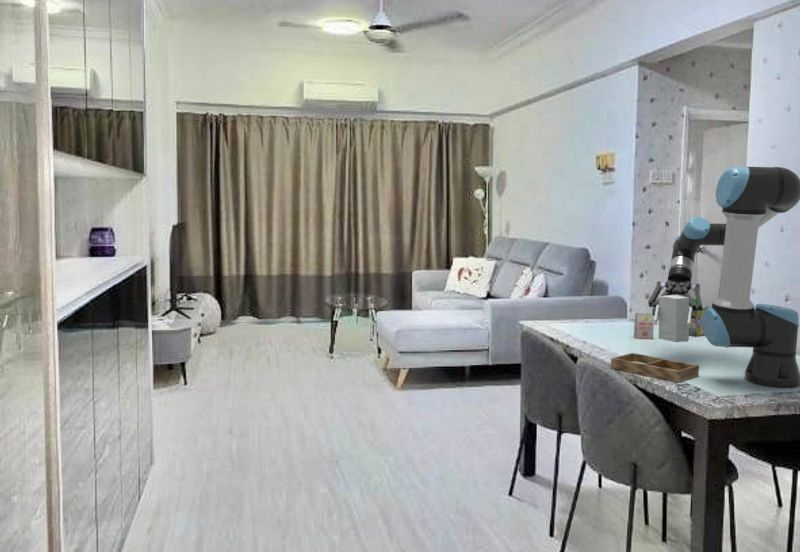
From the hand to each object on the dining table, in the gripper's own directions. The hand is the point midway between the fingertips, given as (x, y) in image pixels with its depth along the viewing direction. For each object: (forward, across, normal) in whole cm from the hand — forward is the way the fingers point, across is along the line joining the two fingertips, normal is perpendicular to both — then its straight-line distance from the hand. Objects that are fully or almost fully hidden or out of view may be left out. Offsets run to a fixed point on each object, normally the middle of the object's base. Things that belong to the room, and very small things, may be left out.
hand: (671, 323), depth 233 cm
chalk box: (-36, 0, -55) cm, 65 cm away
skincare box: (+2, 0, -7) cm, 7 cm away
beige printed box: (-21, +16, -41) cm, 49 cm away
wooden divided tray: (+18, +3, -2) cm, 19 cm away
